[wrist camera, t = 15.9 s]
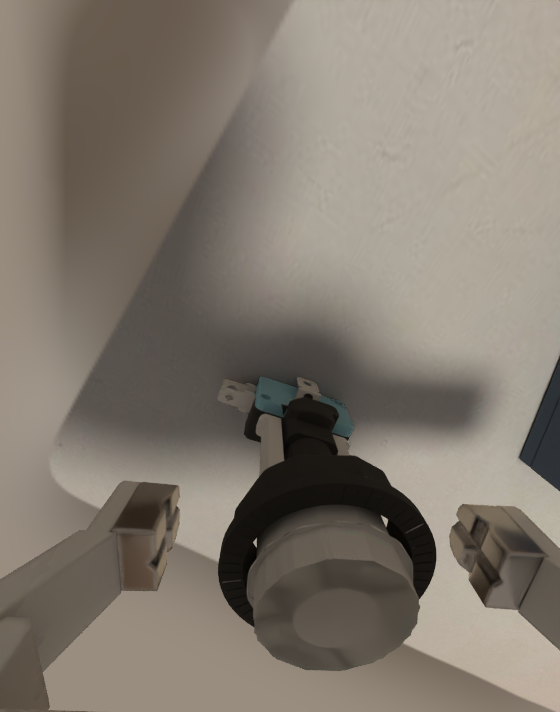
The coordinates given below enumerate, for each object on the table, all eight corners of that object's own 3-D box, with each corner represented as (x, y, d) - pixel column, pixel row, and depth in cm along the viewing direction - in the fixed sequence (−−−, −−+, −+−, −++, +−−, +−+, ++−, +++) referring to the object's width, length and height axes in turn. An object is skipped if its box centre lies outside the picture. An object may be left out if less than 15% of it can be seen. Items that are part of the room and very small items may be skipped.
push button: (209, 422, 16) (122, 662, 6) (240, 332, 14) (184, 471, 5) (322, 456, 17) (391, 709, 7) (362, 374, 15) (511, 559, 6)
